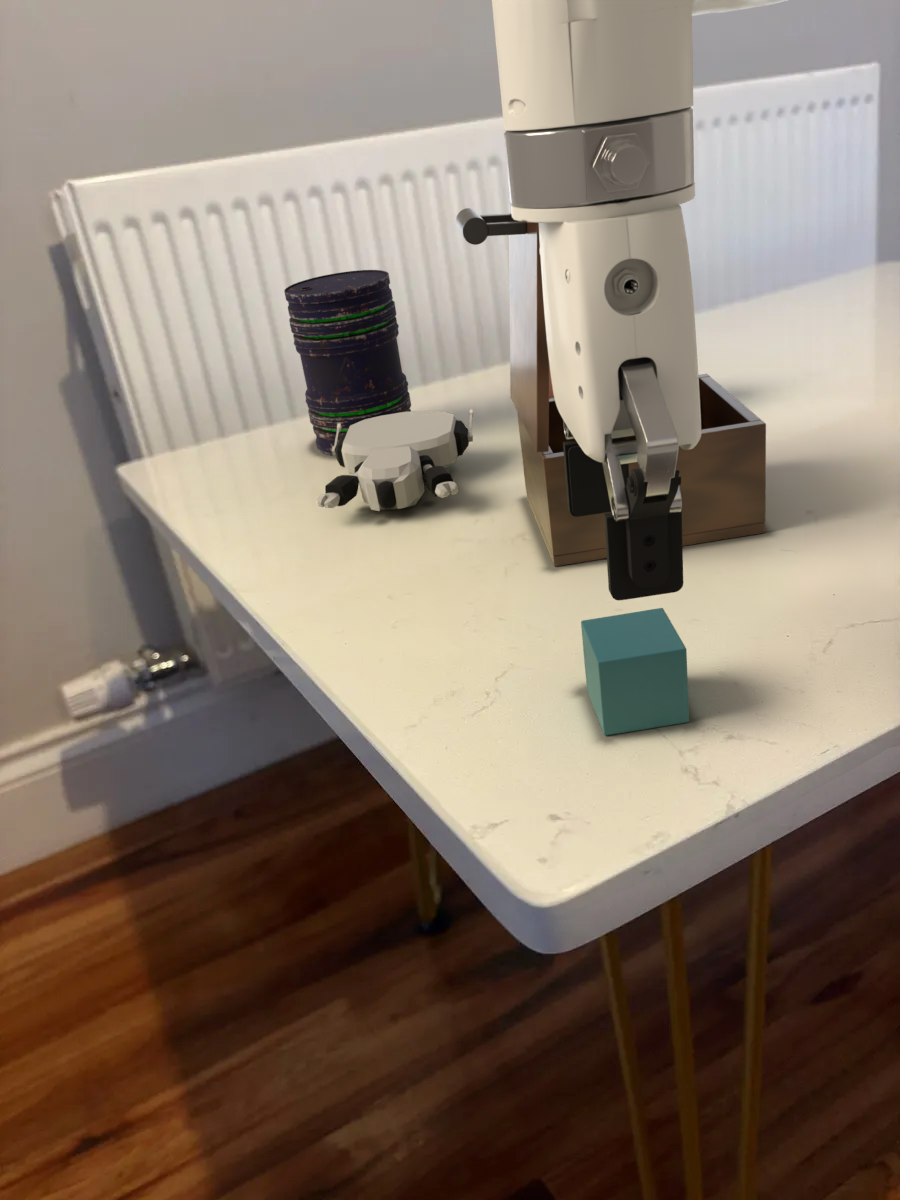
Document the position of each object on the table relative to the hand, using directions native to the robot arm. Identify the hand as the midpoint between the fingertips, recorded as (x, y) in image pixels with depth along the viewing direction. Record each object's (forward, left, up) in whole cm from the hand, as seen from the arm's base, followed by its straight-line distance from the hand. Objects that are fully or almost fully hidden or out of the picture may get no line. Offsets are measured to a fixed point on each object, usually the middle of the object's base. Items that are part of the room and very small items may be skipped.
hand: (620, 548), depth 50 cm
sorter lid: (0, -24, +7) cm, 25 cm away
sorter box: (-6, -24, -9) cm, 27 cm away
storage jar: (+14, -52, -10) cm, 55 cm away
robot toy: (+11, -37, -10) cm, 40 cm away
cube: (0, 0, -9) cm, 9 cm away
